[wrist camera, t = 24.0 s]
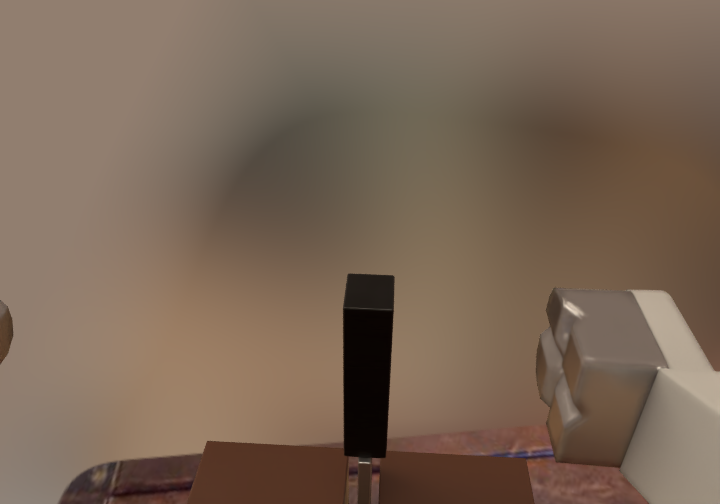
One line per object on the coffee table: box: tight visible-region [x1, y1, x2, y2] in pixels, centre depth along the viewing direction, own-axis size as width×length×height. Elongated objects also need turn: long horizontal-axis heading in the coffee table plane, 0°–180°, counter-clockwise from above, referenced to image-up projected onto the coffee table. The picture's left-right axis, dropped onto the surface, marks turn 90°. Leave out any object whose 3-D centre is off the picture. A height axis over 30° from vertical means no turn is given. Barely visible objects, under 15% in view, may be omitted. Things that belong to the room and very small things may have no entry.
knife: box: [343, 274, 394, 504], centre depth 31 cm, size 2×3×19 cm, turn 176°
